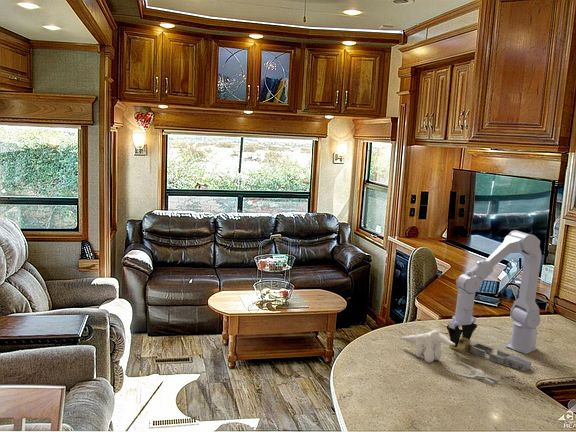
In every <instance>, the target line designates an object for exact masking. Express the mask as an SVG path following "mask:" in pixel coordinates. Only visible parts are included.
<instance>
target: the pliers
mask: <svg viewBox="0 0 576 432" xmlns="http://www.w3.org/2000/svg"><path fill="white" fill-rule="evenodd" d="M462 364H463V365H462ZM460 365H462V366H464V365H465V366H464V367H466V366H467V367H466V368H468V367H469V368H468V369H470V368H471V369H472V370H471V369H470V372H472V373H473V374H472V373H468V372H458V371H455V370H451V369H449V368H445V369H446V370H445V371H447V370H448V371H447V372H449V371H450V372H449V373H451V372H452V373H451V374H453V373H455V374H454V375H456V374H458V375H457V376H459V375H461V376H460V377H462V376H464V377H463V378H466V377H468V379H473V380H477V381H478V380H479V381H481V382H483V383H485V384H486V385H489V386H491V387H494V385H495V384H496V385H499V379H498V378H496V377H494V376H490V375H488V374H485V373H481V372H480V371H479V370H478V369H477V368H475V367H473V366H471V365H469V364H467V363H465V362H461V364H460ZM473 370H474V371H475V372H474V371H473ZM465 374H469V375H465Z"/></svg>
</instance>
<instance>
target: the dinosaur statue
mask: <svg viewBox="0 0 576 432" xmlns="http://www.w3.org/2000/svg"><path fill="white" fill-rule="evenodd" d="M419 332H420V331H417V332H414V334H413V333H411V334H408V335H406V334H404V336H398V337H397V338H398V339H401V340H402V341H405V342H407V343H410V344H412V345H414V346H415V347H416V351H415V355H414V356H415V357H417V358H421V357H422V355H423V356H424V362H426V363H432V362H433V361H440V360H441V358H442V349H441V344H446V345H449V346H450V345H453V346H454V345H455V343H453V342H452V341H450V338H449V337H448V336H446V334H444V331H443V330H442V329H439V328H438V329H434V330H431V331H428V332H425V333H419Z"/></svg>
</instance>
